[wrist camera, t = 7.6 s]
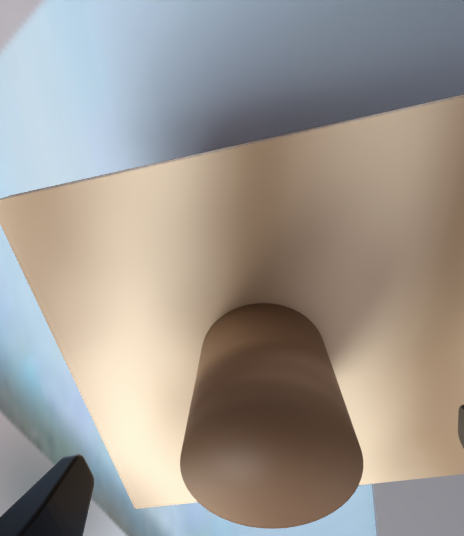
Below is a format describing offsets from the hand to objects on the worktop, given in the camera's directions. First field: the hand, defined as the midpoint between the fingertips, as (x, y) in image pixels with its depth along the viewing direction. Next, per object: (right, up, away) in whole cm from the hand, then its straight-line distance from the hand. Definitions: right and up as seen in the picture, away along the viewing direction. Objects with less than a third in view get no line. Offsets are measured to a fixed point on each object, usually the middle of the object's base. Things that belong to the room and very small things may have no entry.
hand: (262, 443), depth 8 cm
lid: (0, +2, +4) cm, 4 cm away
